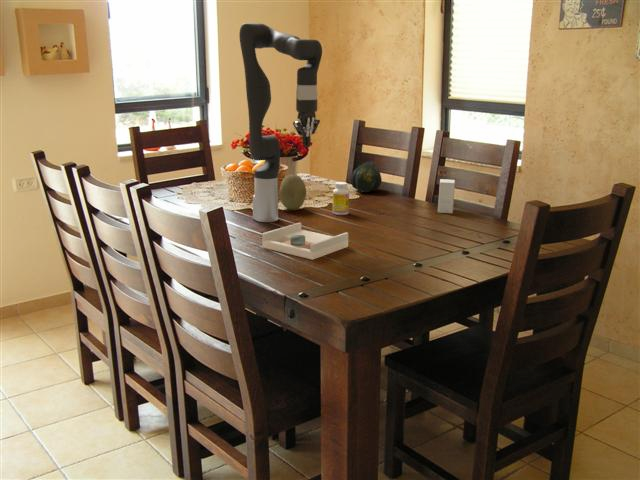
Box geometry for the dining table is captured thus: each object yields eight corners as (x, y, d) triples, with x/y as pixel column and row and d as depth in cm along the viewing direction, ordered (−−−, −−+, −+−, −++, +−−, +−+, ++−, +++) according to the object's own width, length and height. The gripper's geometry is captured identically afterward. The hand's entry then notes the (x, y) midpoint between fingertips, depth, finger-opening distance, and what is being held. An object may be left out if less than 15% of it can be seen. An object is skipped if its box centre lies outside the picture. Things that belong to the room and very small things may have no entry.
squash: (343, 181, 333) (365, 158, 329) (347, 177, 348) (368, 155, 343) (365, 202, 334) (387, 180, 330) (368, 197, 348) (389, 175, 344)
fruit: (311, 208, 303) (311, 173, 299) (296, 213, 294) (296, 177, 290) (289, 205, 309) (289, 170, 305) (273, 209, 300) (273, 174, 296)
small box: (452, 213, 298) (455, 183, 295) (437, 212, 299) (439, 182, 296) (453, 209, 306) (455, 179, 302) (438, 208, 307) (440, 178, 303)
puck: (287, 244, 241) (287, 237, 241) (296, 241, 245) (296, 233, 244) (299, 246, 238) (299, 239, 238) (308, 243, 242) (308, 236, 242)
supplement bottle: (347, 215, 292) (347, 185, 288) (331, 214, 293) (331, 184, 289) (349, 212, 298) (350, 181, 294) (334, 211, 299) (334, 181, 296)
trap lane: (262, 247, 246) (262, 233, 244) (299, 235, 261) (299, 222, 260) (312, 259, 233) (312, 244, 232) (348, 246, 248) (348, 232, 247)
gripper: (310, 96, 259) (309, 143, 264) (286, 98, 249) (286, 147, 254) (326, 97, 255) (325, 146, 260) (303, 99, 245) (302, 149, 250)
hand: (306, 146), depth 257 cm, fingers closed
